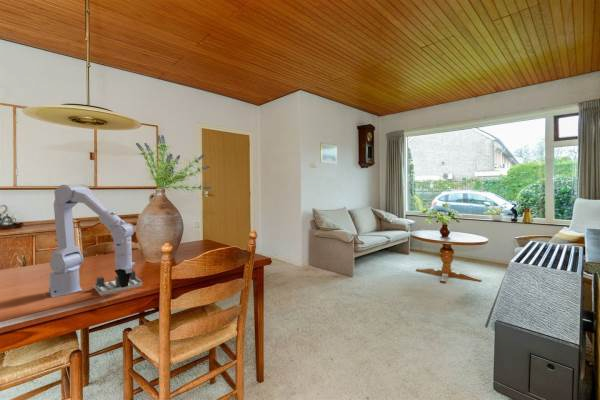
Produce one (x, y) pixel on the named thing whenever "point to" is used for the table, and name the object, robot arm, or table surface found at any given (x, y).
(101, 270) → the table surface
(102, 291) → the panel
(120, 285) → the block
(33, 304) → the table surface
